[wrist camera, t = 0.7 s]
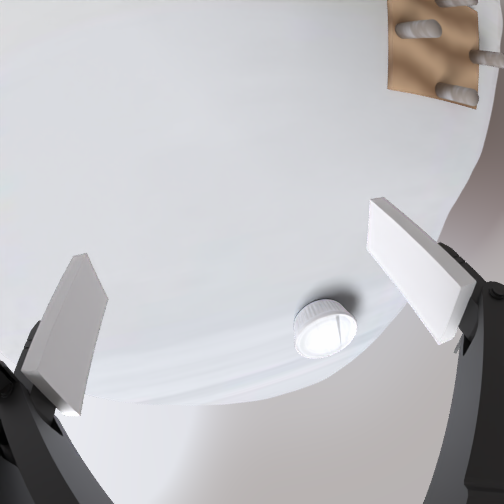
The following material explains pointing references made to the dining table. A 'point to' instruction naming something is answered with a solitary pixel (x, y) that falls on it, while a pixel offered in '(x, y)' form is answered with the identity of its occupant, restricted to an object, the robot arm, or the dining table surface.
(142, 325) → the dining table surface
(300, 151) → the dining table surface
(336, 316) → the ramekin
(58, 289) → the robot arm
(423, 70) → the wooden peg stand
